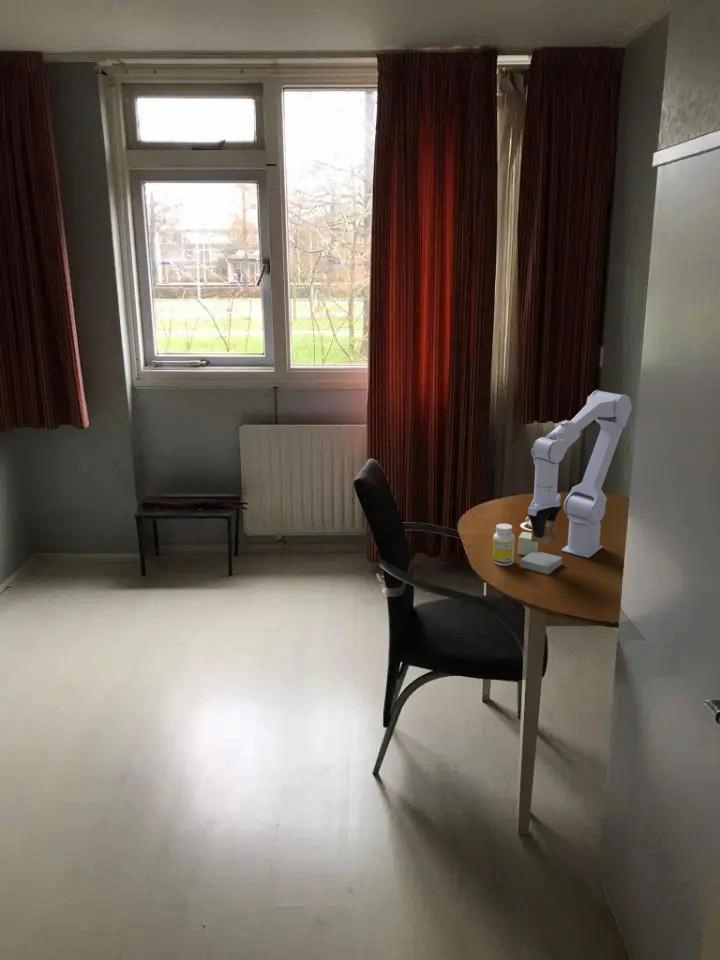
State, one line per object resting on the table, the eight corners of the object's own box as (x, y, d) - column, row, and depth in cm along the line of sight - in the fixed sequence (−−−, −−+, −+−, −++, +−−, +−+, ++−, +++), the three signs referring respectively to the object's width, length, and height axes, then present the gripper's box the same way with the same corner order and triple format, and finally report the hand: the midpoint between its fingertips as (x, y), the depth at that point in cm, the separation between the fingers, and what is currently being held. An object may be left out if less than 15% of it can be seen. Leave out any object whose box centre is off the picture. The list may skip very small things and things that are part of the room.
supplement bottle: (498, 556, 209) (500, 520, 206) (517, 561, 206) (519, 525, 203) (488, 562, 205) (489, 526, 202) (507, 568, 202) (508, 531, 199)
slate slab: (533, 558, 208) (534, 550, 208) (561, 565, 204) (562, 557, 203) (519, 568, 203) (520, 559, 202) (547, 576, 198) (548, 567, 197)
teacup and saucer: (548, 523, 234) (548, 510, 233) (552, 532, 226) (552, 519, 225) (518, 522, 235) (519, 510, 233) (521, 532, 227) (522, 519, 226)
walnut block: (539, 535, 204) (540, 518, 202) (555, 539, 201) (556, 521, 199) (531, 540, 200) (532, 522, 199) (547, 545, 198) (548, 526, 196)
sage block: (521, 548, 214) (522, 531, 213) (537, 550, 213) (538, 533, 211) (517, 554, 211) (518, 537, 209) (534, 556, 209) (535, 539, 207)
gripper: (547, 494, 188) (544, 546, 192) (572, 480, 199) (569, 529, 203) (521, 489, 193) (518, 539, 197) (547, 475, 203) (544, 523, 207)
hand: (542, 534), depth 200 cm, fingers closed on walnut block, 4 cm apart
